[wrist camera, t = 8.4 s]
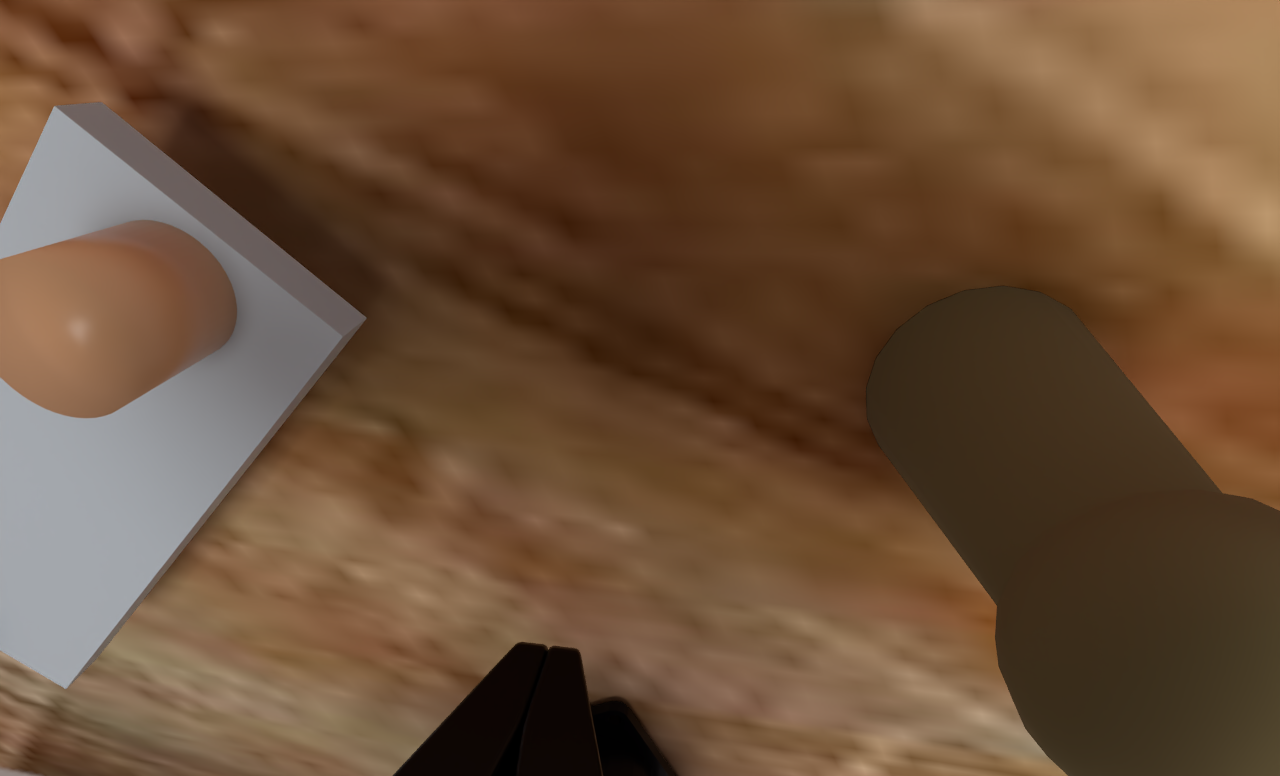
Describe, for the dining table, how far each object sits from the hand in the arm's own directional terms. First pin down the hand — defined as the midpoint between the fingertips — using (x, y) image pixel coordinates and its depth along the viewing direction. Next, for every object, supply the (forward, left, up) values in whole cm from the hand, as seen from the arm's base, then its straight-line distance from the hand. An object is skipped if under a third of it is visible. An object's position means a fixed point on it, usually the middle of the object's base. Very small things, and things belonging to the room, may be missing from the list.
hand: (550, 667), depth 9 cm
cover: (+4, +14, -9) cm, 17 cm away
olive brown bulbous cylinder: (-5, -8, -12) cm, 15 cm away
